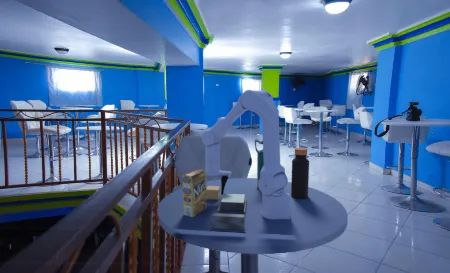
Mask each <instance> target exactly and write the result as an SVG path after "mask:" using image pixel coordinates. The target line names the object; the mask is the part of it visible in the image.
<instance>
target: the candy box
mask: <svg viewBox="0 0 450 273" xmlns="http://www.w3.org/2000/svg"><path fill="white" fill-rule="evenodd" d="M206 188H207V176H206V169H199V168H196V169H195V170H191V171H188V172H186V173H183V174H182V200H183V201H182V202H183V204H182V205H183V216H186V217H190V218H195V217H197V215H199V214H200V213H202V212H204V211H205V210H207V209H208V206H207V205H208V201H207V200H208V199H207V194H206Z"/></svg>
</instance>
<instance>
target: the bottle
mask: <svg viewBox="0 0 450 273" xmlns="http://www.w3.org/2000/svg"><path fill="white" fill-rule="evenodd" d="M307 156H308V148H305V147H295V148H294V157H293V159H292V160H291V185H290V188H291V189H290V194H291V195H290V197H292V198H294V199H297V200H298V199H299V200H300V199H301V200H303V199H307V198H308V197H309V183H310V182H309V181H310V180H309V176H310V161H309V159H308V158H307Z"/></svg>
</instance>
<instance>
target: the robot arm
mask: <svg viewBox="0 0 450 273" xmlns="http://www.w3.org/2000/svg"><path fill="white" fill-rule="evenodd" d="M273 96H274V95H273V94H271V93H269V91H267V90H264V89H263V90H262V89H261V90H255V89H254V90H252V89H246V90H245V91H244V92H243V93H242V94H241V95H240V96H239V97H238V101H237V102H236V103H235V104H234V106H233V107H232V108H231V109H230V111H229V112H228V113H227V115H225V117H224V116H222V117H218V118H217V120H216V123H214V124H213V126H210V129H209V130H205V131H204V132H203V133H202V135H201V141H202V143H203V144H204V150H205V152H204V153H205V156H204V158H205V170H206V177H218V178H219V177H220V178H221V179H220V182H221V184H220V185H221V186H220V196H223V195H224V194H225V193H224V192H225V187H226V184H227V182H228V179H229V178H231V177H232V171H229V170H221V147H222V146H221V145H222V143H223V140H224V137H226V135H227V134H228V133H229V132H230V131H231V130H232V128H233V123H234V122H236V120H237V119H239V118H240V117H241V116H242V115H243V114H245V112H246V111H251V112H253V113H254V114H256V115H257V116H259V117H260V118H261V129H262V130H261V132H262V134H261V135H262V141H263V144H262V149H263V157H264V166H263V168H262V170H261V172H260V179H259V181H258V187H259V189H260V190H259V191H260V192H261V197H262V198H261V200H262V201H261V216H262V217H263V218H265V219H268V220H290V219H291V195H290V194H291V193H289V192H288V193H287V192H285V188H286V187H288V186H287V185H288V182H289V181H288V180H289V179H288V176H287V174H286V169H285V167H284V166H283V165H282V164H281V148H280V146H281V145H280V144H281V143H280V141H281V140H280V122H279V121H280V118H279V117H280V116H279V110H278V107H277V105H276V104H275V101H274V97H273Z"/></svg>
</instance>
